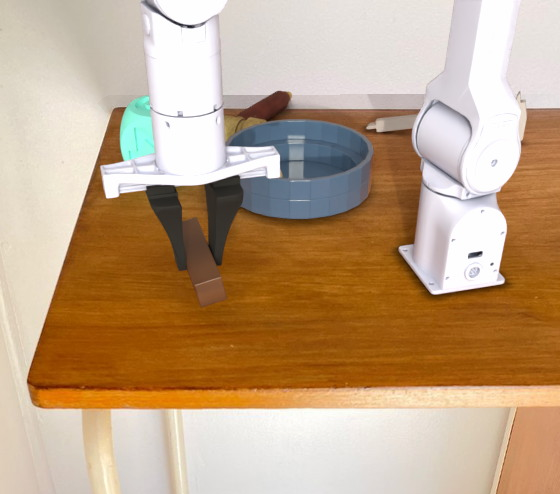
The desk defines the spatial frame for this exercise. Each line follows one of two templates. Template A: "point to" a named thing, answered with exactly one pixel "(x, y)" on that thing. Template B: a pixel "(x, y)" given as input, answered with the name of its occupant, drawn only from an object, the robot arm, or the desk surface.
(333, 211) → the bowl
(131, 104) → the decorative dice
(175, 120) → the robot arm
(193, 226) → the rectangular block
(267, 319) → the desk surface
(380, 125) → the caliper
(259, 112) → the gavel
